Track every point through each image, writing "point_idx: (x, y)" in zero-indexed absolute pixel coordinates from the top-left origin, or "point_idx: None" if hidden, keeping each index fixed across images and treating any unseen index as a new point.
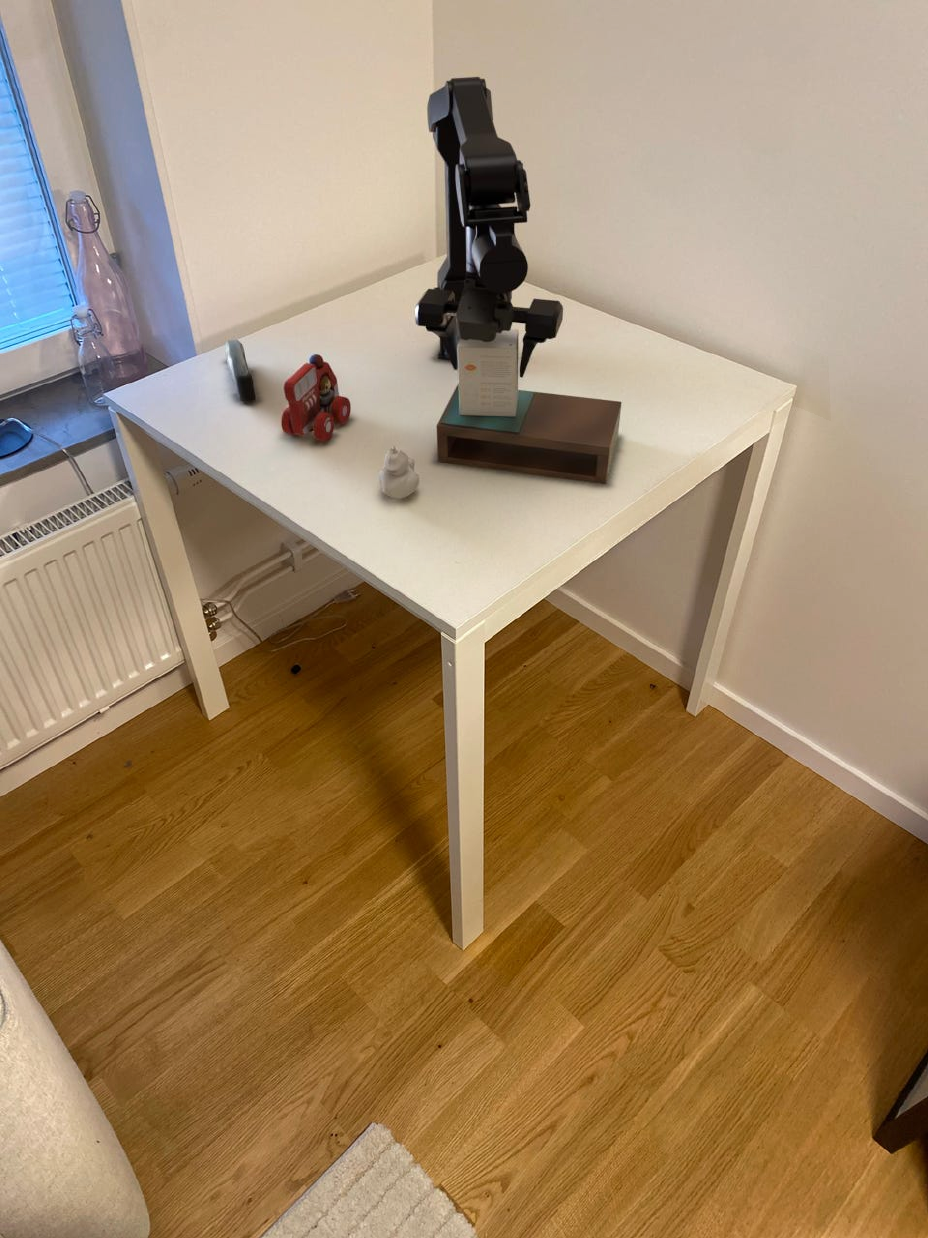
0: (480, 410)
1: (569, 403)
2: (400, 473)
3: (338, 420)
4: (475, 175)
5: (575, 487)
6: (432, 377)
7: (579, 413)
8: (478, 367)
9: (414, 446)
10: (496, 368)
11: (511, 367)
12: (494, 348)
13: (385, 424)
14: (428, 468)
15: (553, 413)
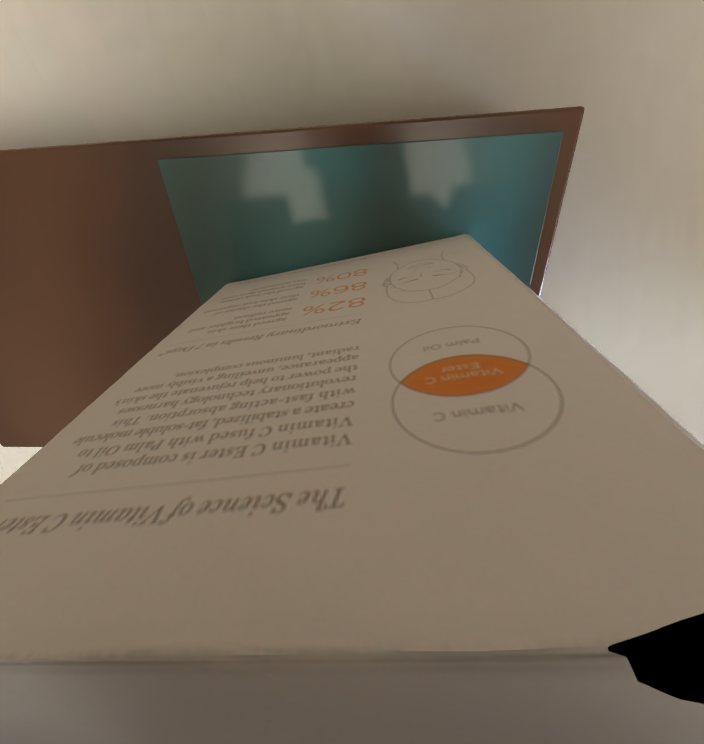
0: (371, 257)
1: None
2: None
3: None
4: None
5: (26, 109)
6: None
7: (53, 367)
8: (377, 386)
9: (603, 201)
10: (208, 405)
11: (78, 432)
12: (97, 648)
13: (701, 301)
14: (544, 58)
15: (126, 348)
